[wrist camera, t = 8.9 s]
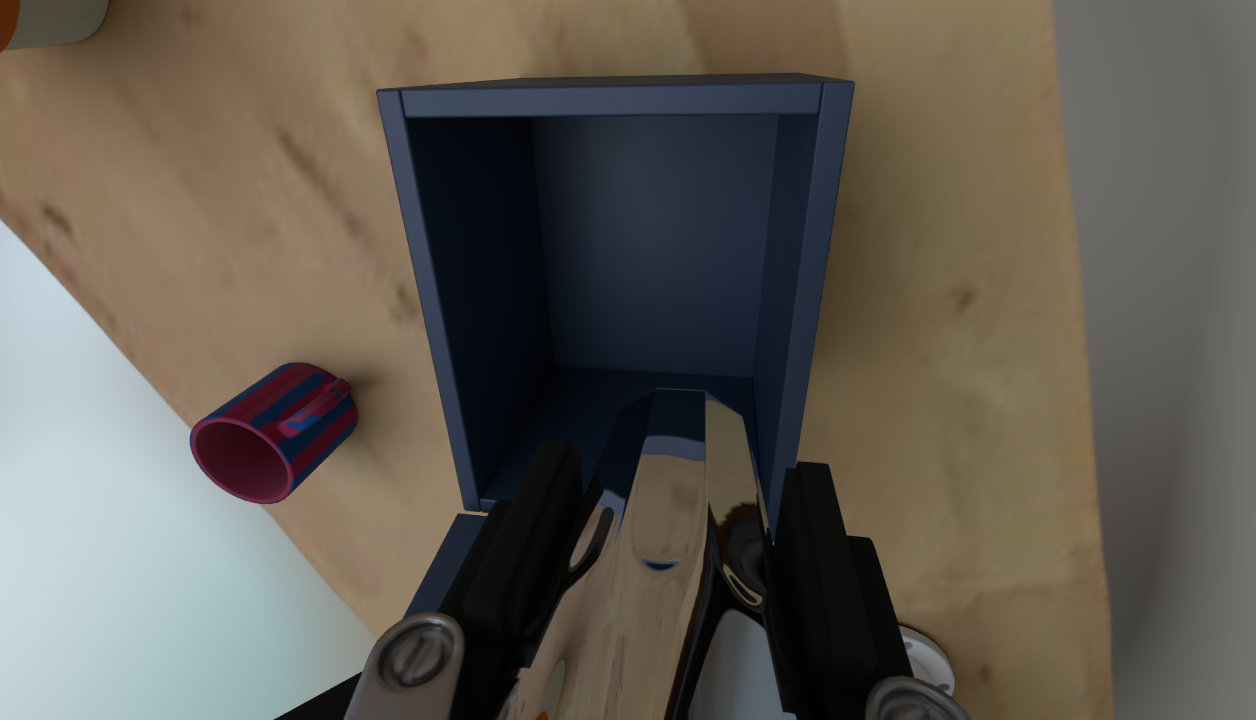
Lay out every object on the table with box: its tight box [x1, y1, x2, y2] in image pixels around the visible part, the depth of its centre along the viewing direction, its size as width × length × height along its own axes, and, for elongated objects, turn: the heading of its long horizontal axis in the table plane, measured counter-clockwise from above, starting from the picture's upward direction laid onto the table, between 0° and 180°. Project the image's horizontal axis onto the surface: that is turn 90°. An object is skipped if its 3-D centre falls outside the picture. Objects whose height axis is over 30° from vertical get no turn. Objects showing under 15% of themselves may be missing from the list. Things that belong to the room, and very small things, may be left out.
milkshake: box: [482, 388, 815, 720], centre depth 8 cm, size 4×5×10 cm
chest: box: [376, 73, 855, 542], centre depth 25 cm, size 17×14×13 cm
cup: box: [190, 363, 357, 504], centre depth 36 cm, size 7×10×7 cm
